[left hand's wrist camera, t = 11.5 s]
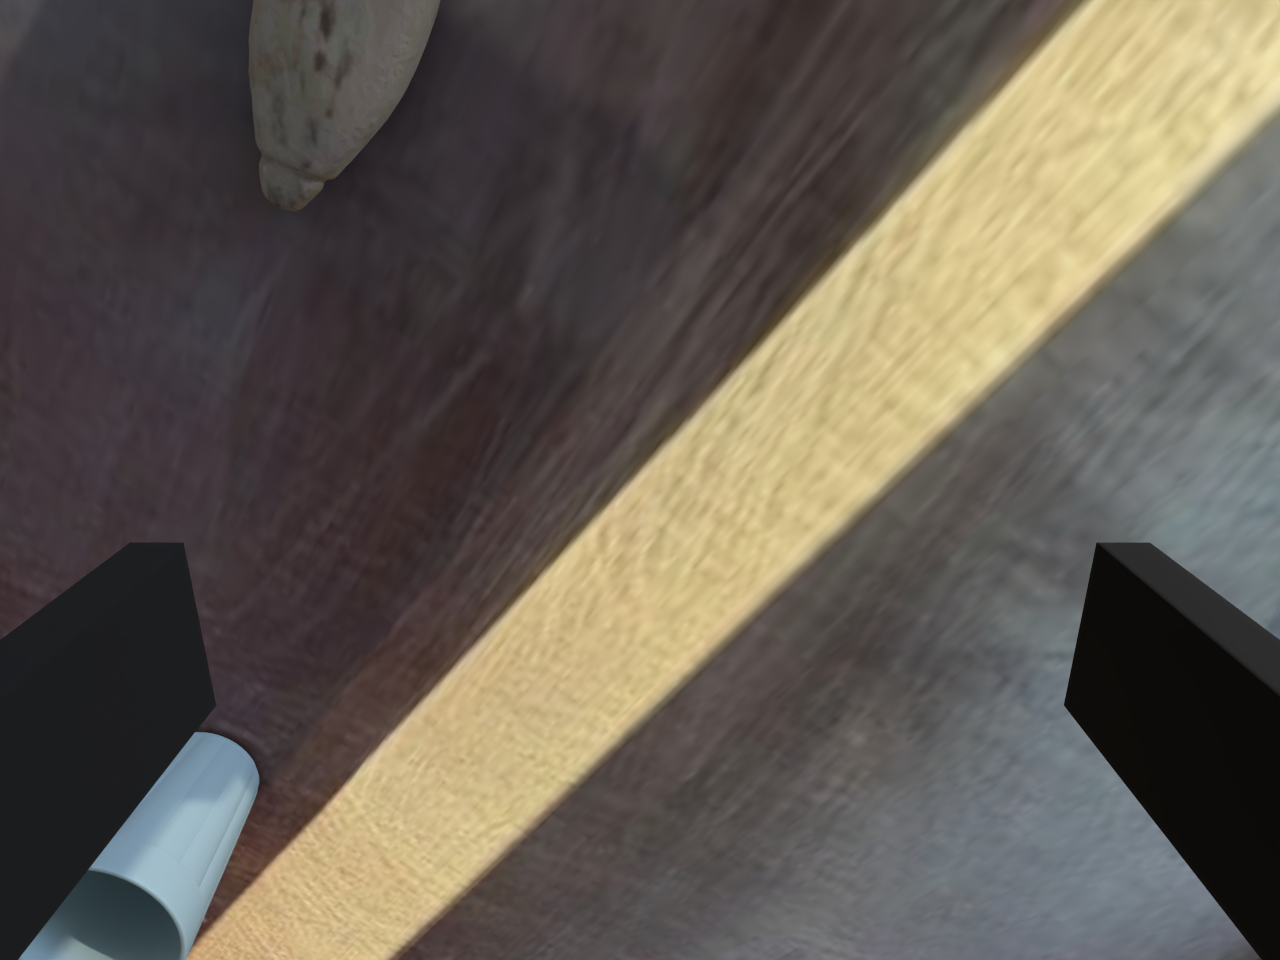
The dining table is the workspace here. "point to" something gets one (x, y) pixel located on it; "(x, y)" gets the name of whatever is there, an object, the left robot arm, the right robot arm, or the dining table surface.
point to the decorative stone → (327, 84)
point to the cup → (158, 863)
